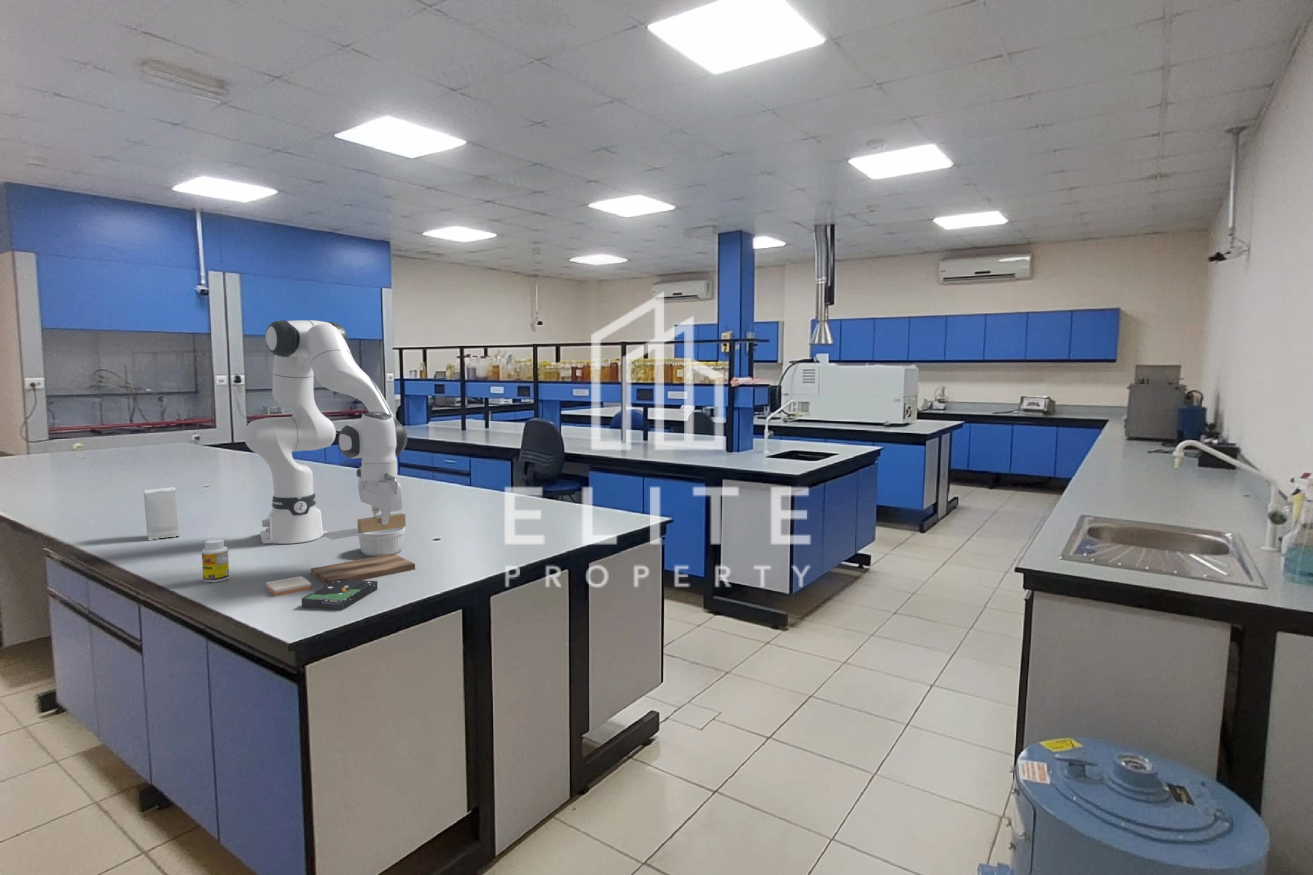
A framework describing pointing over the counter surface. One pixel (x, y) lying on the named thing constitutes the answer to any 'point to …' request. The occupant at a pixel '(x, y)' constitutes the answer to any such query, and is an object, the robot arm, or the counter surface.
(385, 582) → the counter surface
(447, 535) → the counter surface
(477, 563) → the counter surface
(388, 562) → the board
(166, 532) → the skincare box
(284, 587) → the tile
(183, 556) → the counter surface
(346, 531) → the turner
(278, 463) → the robot arm
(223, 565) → the supplement bottle
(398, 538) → the ramekin
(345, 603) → the disk drive
